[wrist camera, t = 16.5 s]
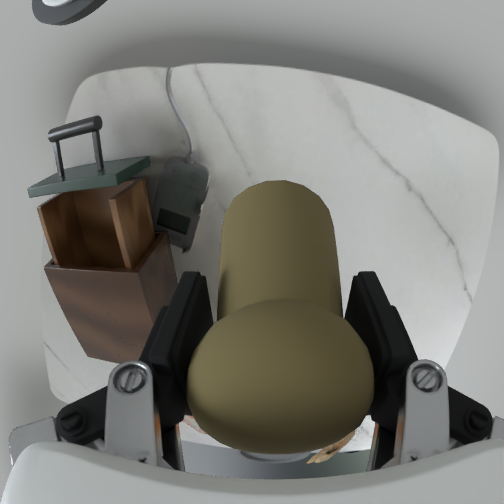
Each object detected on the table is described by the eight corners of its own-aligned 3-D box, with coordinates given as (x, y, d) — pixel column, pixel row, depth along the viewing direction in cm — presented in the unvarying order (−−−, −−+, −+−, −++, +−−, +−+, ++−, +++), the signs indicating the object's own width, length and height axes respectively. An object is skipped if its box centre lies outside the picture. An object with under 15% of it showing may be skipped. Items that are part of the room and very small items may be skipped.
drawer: (58, 128, 27) (18, 140, 21) (144, 106, 26) (108, 111, 20) (90, 267, 38) (64, 298, 31) (168, 270, 37) (148, 308, 30)
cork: (257, 294, 17) (242, 475, 8) (200, 215, 15) (108, 403, 5) (349, 253, 15) (411, 440, 6) (302, 158, 13) (376, 334, 4)
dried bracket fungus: (355, 416, 68) (367, 435, 63) (318, 440, 71) (329, 459, 65) (330, 419, 57) (345, 443, 51) (287, 446, 60) (299, 469, 54)
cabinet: (80, 232, 36) (43, 267, 28) (167, 230, 35) (137, 273, 27) (110, 317, 44) (87, 356, 36) (187, 325, 43) (171, 372, 35)
